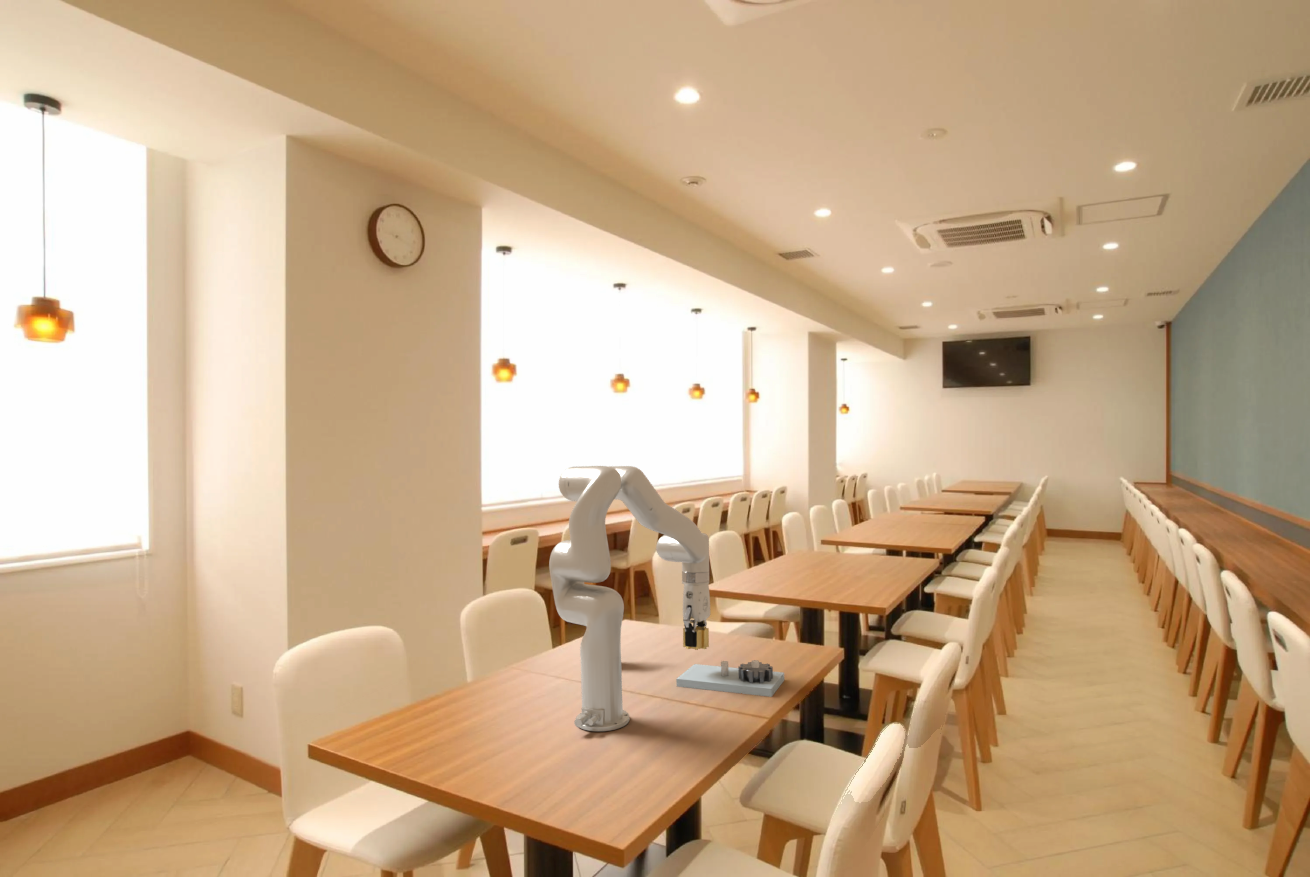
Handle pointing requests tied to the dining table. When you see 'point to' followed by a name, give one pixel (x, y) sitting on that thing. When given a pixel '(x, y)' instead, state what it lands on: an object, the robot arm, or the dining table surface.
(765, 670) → the steel gear
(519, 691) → the dining table surface
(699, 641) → the brass gear
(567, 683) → the dining table surface
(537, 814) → the dining table surface
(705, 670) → the board
